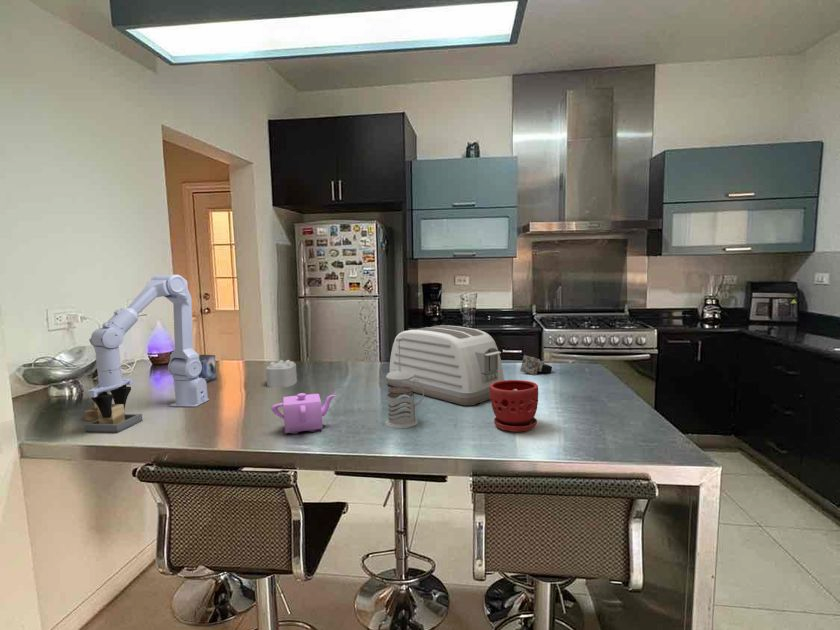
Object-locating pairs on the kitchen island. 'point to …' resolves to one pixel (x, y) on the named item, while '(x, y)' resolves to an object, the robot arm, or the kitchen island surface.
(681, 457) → the kitchen island surface
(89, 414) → the brown rectangular frame
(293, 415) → the teapot
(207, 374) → the small box
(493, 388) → the plant pot
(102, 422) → the block
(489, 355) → the toaster
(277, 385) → the lumpy-topped squat cylinder
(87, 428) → the tray
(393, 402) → the french press
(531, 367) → the mottled grey-brown block
